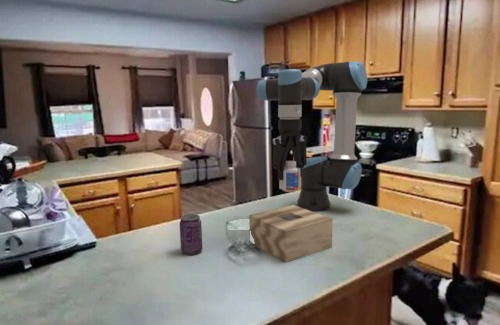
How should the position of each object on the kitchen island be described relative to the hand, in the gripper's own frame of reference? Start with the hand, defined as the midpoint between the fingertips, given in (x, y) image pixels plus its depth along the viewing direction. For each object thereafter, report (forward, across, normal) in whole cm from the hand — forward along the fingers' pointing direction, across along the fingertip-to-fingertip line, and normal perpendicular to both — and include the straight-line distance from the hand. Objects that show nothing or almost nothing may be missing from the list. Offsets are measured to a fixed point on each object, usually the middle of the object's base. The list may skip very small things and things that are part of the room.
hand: (289, 187), depth 121 cm
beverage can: (+21, -30, +15) cm, 39 cm away
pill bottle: (+1, 0, 0) cm, 1 cm away
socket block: (+20, 0, 0) cm, 20 cm away
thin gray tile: (+12, 0, 0) cm, 12 cm away
